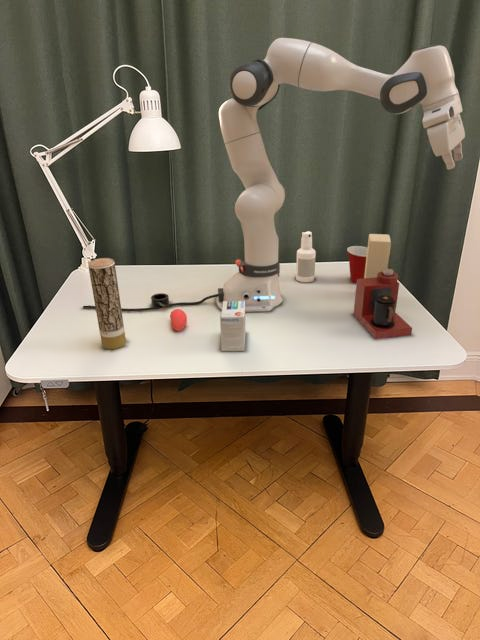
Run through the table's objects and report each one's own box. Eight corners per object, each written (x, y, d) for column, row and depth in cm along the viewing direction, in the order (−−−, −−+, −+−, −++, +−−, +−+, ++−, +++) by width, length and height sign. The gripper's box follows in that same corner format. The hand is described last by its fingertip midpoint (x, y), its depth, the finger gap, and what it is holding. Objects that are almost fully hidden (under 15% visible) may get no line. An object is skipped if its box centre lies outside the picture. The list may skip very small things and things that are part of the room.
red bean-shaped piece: (191, 323, 153) (184, 305, 152) (189, 326, 144) (180, 307, 143) (176, 330, 153) (168, 311, 152) (173, 333, 144) (164, 313, 144)
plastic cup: (377, 286, 173) (381, 254, 168) (347, 286, 174) (350, 254, 168) (370, 275, 183) (374, 244, 178) (342, 275, 183) (344, 245, 178)
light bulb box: (223, 333, 144) (222, 300, 139) (246, 333, 144) (245, 300, 139) (221, 351, 134) (219, 316, 129) (245, 351, 134) (244, 316, 129)
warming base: (375, 339, 139) (379, 304, 134) (360, 323, 148) (364, 290, 143) (411, 335, 140) (416, 300, 135) (394, 319, 149) (399, 286, 144)
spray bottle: (302, 284, 177) (304, 236, 169) (292, 278, 182) (293, 231, 174) (317, 280, 180) (320, 233, 171) (307, 274, 185) (309, 228, 177)
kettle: (380, 330, 138) (383, 304, 134) (367, 317, 145) (370, 292, 142) (398, 328, 138) (402, 302, 135) (385, 315, 146) (388, 290, 142)
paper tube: (114, 352, 135) (100, 268, 124) (97, 346, 138) (82, 264, 127) (131, 342, 140) (119, 260, 129) (114, 336, 143) (101, 256, 132)
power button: (385, 278, 144) (385, 272, 143) (380, 274, 147) (381, 269, 146) (394, 277, 145) (395, 271, 144) (390, 273, 147) (390, 268, 146)
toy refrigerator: (385, 302, 161) (393, 241, 151) (363, 301, 162) (369, 240, 153) (384, 293, 168) (391, 234, 158) (362, 291, 169) (368, 233, 160)
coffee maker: (360, 323, 148) (365, 280, 142) (353, 314, 153) (357, 273, 147) (395, 319, 149) (401, 277, 143) (387, 311, 155) (392, 270, 149)
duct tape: (174, 298, 167) (174, 291, 166) (168, 311, 158) (168, 303, 157) (152, 298, 168) (151, 290, 166) (145, 310, 159) (144, 302, 157)
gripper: (440, 109, 133) (451, 158, 138) (420, 123, 119) (433, 177, 123) (464, 100, 129) (475, 151, 134) (446, 113, 115) (459, 170, 119)
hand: (455, 164), depth 128 cm, fingers open, 8 cm apart
